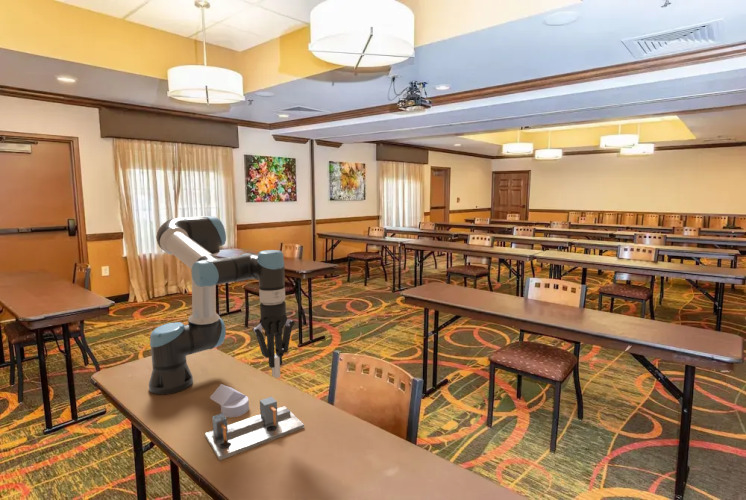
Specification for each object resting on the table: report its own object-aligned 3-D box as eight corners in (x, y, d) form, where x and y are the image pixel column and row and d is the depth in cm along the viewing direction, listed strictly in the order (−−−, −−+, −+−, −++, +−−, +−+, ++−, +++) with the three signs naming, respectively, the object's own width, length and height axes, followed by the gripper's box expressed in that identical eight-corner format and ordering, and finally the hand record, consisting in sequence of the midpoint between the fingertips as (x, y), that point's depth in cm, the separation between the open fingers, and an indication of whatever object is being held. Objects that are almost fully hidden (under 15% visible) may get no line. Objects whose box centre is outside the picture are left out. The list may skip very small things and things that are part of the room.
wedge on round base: (210, 407, 142) (230, 420, 134) (208, 388, 141) (228, 401, 133) (233, 397, 149) (254, 409, 141) (232, 379, 148) (253, 390, 140)
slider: (260, 419, 132) (259, 400, 131) (272, 415, 134) (271, 396, 133) (269, 429, 126) (268, 409, 125) (281, 425, 128) (281, 405, 127)
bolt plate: (205, 436, 125) (203, 413, 124) (284, 409, 140) (284, 388, 139) (219, 460, 114) (217, 434, 113) (304, 427, 129) (303, 404, 128)
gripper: (257, 308, 117) (261, 386, 120) (298, 300, 125) (300, 374, 128) (246, 303, 123) (251, 377, 126) (286, 295, 131) (289, 366, 134)
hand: (276, 376), depth 127 cm, fingers closed
